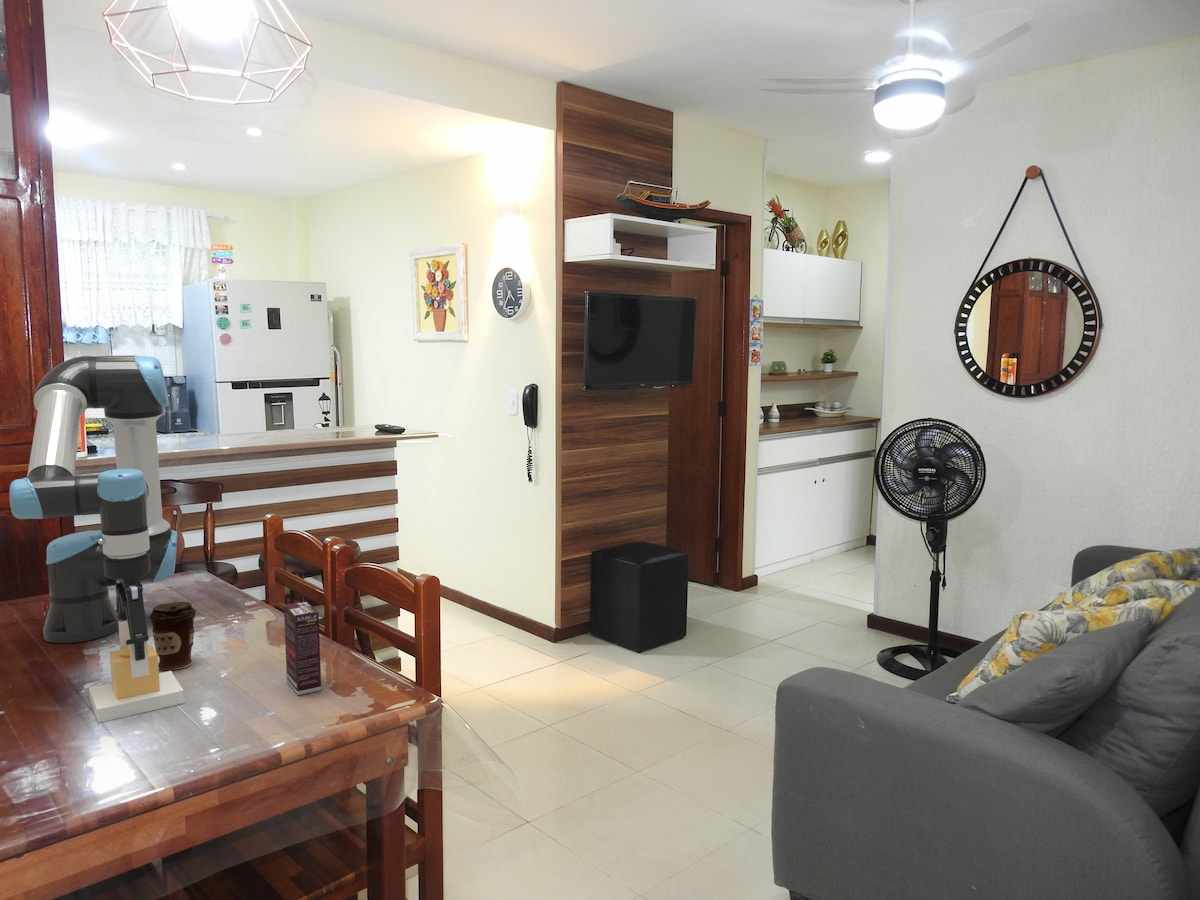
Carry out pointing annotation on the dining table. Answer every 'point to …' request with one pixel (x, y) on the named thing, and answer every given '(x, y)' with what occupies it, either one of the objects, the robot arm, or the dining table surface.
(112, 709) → the white rectangular block
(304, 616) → the supplement box
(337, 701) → the dining table surface
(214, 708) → the dining table surface
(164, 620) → the coffee cup
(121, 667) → the cube with hemisphere knob
